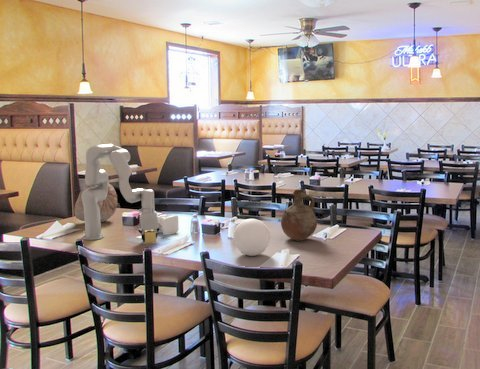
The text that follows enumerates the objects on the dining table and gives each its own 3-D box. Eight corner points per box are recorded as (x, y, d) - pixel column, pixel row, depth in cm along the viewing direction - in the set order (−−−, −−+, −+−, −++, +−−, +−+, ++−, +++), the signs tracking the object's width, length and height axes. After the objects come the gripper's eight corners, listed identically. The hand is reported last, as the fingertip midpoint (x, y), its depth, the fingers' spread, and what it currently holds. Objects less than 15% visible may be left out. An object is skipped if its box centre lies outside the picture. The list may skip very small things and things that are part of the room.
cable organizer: (163, 237, 320) (163, 219, 319) (151, 235, 326) (150, 217, 324) (178, 232, 333) (178, 214, 331) (166, 230, 338) (165, 213, 337)
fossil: (115, 217, 383) (113, 177, 379) (122, 224, 360) (120, 181, 356) (72, 221, 371) (69, 180, 367) (76, 228, 347) (73, 185, 343)
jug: (279, 235, 321) (279, 188, 317) (313, 234, 321) (314, 187, 317) (282, 244, 299) (282, 193, 295) (319, 243, 300) (319, 193, 295)
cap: (143, 240, 307) (142, 230, 306) (153, 239, 310) (152, 228, 309) (145, 243, 301) (145, 232, 300) (156, 241, 304) (155, 231, 303)
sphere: (253, 248, 292) (252, 213, 289) (278, 255, 277) (278, 219, 274) (226, 255, 279) (225, 219, 276) (250, 262, 264) (250, 224, 261)
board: (123, 241, 310) (123, 233, 309) (145, 236, 324) (145, 227, 323) (148, 247, 297) (148, 238, 296) (170, 240, 311) (170, 232, 310)
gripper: (134, 212, 296) (136, 243, 299) (164, 210, 303) (165, 239, 305) (132, 210, 303) (133, 240, 305) (161, 208, 310) (162, 237, 312)
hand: (149, 239), depth 305 cm, fingers closed on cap, 6 cm apart
